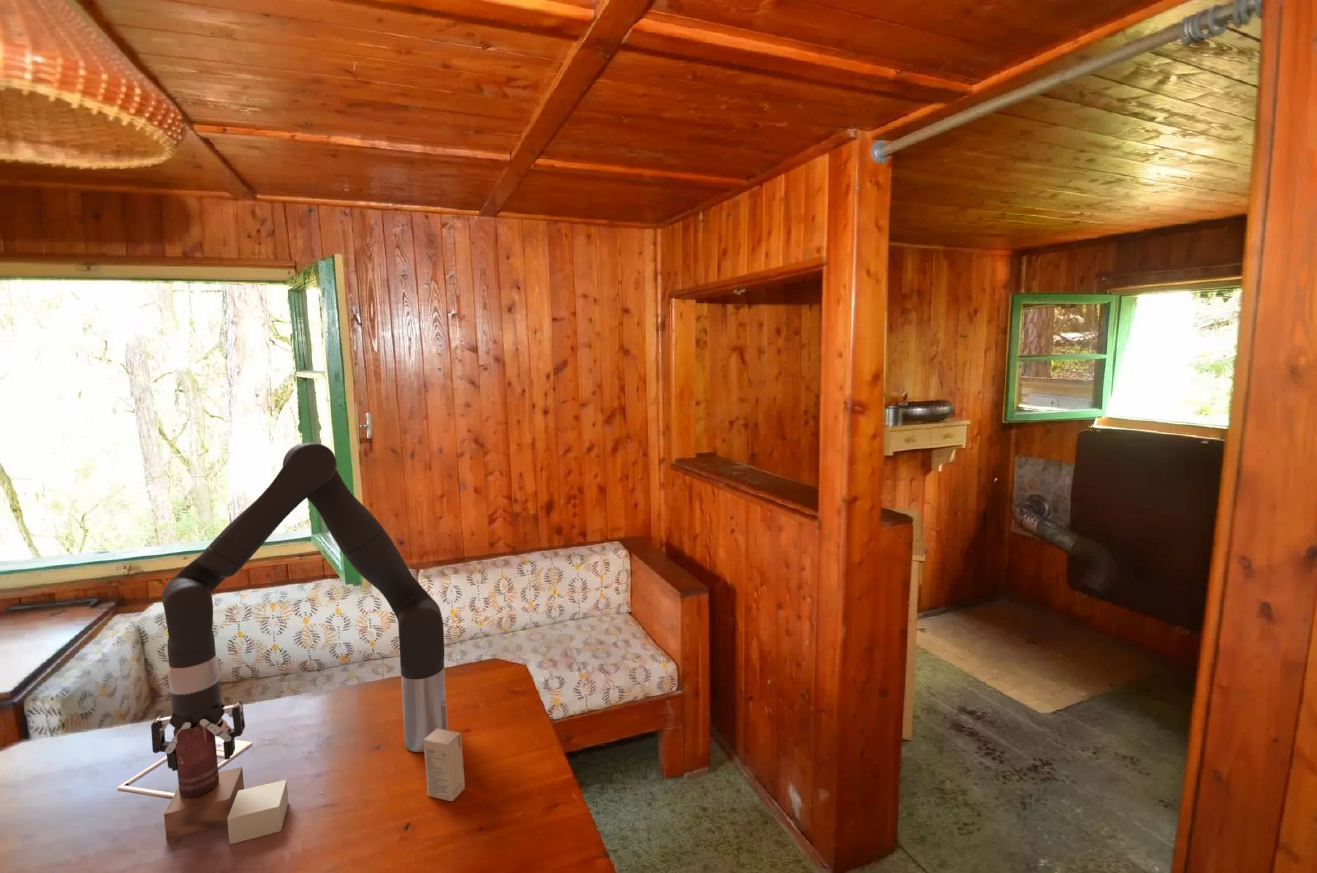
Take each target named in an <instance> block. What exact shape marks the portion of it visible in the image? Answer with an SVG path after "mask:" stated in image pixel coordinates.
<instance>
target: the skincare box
mask: <svg viewBox="0 0 1317 873" xmlns="http://www.w3.org/2000/svg"><path fill="white" fill-rule="evenodd" d="M423 742H424V765H425V777H426V791H427V796H428V797H430V798H431V797H432V798H436V799H439V800H444V801H449V802H453V801H454V800H455V799H456V798H457V797H458V796H459V795H460V794H462V792H463V791H464V790H465V788H466V787H465V786H466V784H465V772H464V771H465V769H464V768H465V767H464V756H463V755H464V754H463V740H462V733H461V732H459V731H454V730H450V729H448V730H445V729H439V728H437V729H436V730H434V731H433V732H432V733H431V734H429V735H428V736H427V737H426V738H424V739H423Z"/></svg>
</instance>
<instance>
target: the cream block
mask: <svg viewBox="0 0 1317 873" xmlns="http://www.w3.org/2000/svg"><path fill="white" fill-rule="evenodd" d="M288 805H289V792H288V782H287V779H283V780H278V781H275V782H270V783H266V784H261V785H258V786H253V787H252V786H251V787H247V788H244V789H243V790H239V791H238V793H237V795H236V798H235V800H234V803H233V806H232V808H231V811H230V813H229V816H228V818H227V821H228V824H227V829H228V841H229V845H233V844H236V843H240V842H245V841H248V840H252V839H256V838H260V837H264V836H268V835H272V834H275V833H279V832H281V831H282V830H283V829H282V828H283V824H284V821H285V816H286V815H287V814H286V813H287V809H288Z"/></svg>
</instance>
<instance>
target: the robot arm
mask: <svg viewBox="0 0 1317 873" xmlns="http://www.w3.org/2000/svg"><path fill="white" fill-rule="evenodd" d="M337 466H338V464H337V457H336V455H335V454H334V452H333V451H332V449H330V448H329V447H327V446H326V445H324V444H322V443H320V442H319V443H318V442H303V443H299V444H296V445H295V446H292V448H290V449H289V450H288V451H287V452H286V453H285V455H284V457H283V462H282V467H281V469H280V471H279V472H278V473H277V475H276V476H275V477H274V479H273V480H272V482H271V483H270V484H269V486H268V487H267V488H266V489H265V490H264V491H263V493H262V494H261V495H259V497H257V499H255V501H253V502H252V503H251V504H250V505H249V506H248V507H246V509H244V510H243V511H242V512H240V514H238V516H237V517H236V518H234V519H233V520H232V521H231V522H230V523H229V524H228V525H227V526H226V527H225V528H224V529H223V530H222V531H221V532H220V533H219V534H218V535H217V536H216V537H215V538H214V540H213V541H212V542H211V543H210V544H209V545H208V546H207V547H206V548H205V549H204V551H203V552H202V553H201V554H200V555H199V556H197V557H196V558H195V559H193V560H192V561H191V562H190V563H189V564H188V565H187V566H185V567H183V569H182V570H180V571H179V572H178V573H177V574H176V575H175V576H174V577H173V578H172V579H171V580H170V581H169V582H168V584H167V585H166V586H165V587H164V589H163V592H162V595H161V602H162V606H163V610H164V614H165V621H166V622H165V623H166V629H167V636H168V638H167V646H166V647H167V658H168V684H167V685H168V688H169V695H170V705H171V706H170V707H171V716H167V717H166V716H163V715H159V716H156V718H155V719H154V720H153V722H152V723H151V725H150V729H151V730H150V731H151V745H152V746H151V747H152V752H153V753H154V754H158V753H164V754H166V756H167V760H166V761H167V768H168V769H171V771H172V772H175V771H177V761H176V751H175V747H176V743H177V734H178V733H179V731H180V730H179V731H178V733H177V734H176V735H175V737H174V736H173V738H172V739H171V740H170V741H167V740H166V733H165V732H166V731H165V730H166V729H167V728H168V726H169V725H171V727H173V728H174V729H175V728H176V729H189V728H192V727H197V726H196V725H197V724H201V725H202V726H203V727H204V728H207V731H208V732H212V733H213V734H214V735H215V737H218V738H222V739H223V740H224V743H223V745H224V757H225V758H224V760H227V759H230V757H231V756H232V755H233V753H234V751H235V740H236V739H235V738H236V737H241V736H242V734H243V733H244V730H245V728H246V722H245V714H244V706H243V705H244V704H243V702H242V701H241V700H240V701H236V702H235V704H231V705H224V703H223V701H222V690H221V688H222V687H221V678H220V677H221V676H220V669H219V668H220V667H219V662H218V658H217V654H216V653H217V652H216V642H215V634H214V631H213V627H214V626H213V625H214V605H213V604H214V602H213V601H214V600H213V595H212V592H214V591H215V589H216V588H217V587H218V586H220V584H221V583H222V582H223V581H224V580H225V579H227V578H230V577H233V576H234V575H235V574H237V573H238V572H239V571H240V570H241V569H242V568H243V567H244V566H245V565H246V563H247V562H248V561H249V560H250V559H251V558H252V557H253V556H254V555H255V553H256V552H257V551H258V550H259V549H260V548H261V547H262V546H263V544H264V543H265V542H266V541H267V540H268V539H269V537H270V536H272V534H273V533H274V531H275V530H276V529H277V528H278V527H279V526H280V524H281V523H283V521H284V520H285V519H286V518H287V517H288V516H289V515H290V514H291V513H292V512H293V511H294V510H295V509H296V508H297V507H298V506H299V505H300V504H301V503H302V502H304V500H306V499H307V500H308V501H309V502H310V503H311V504H312V505H313V507H314V508H315V510H316V512H318V513H319V515H320V518H321V519H322V521H323V522H324V524H325V526H326V528H327V530H328V532H329V534H331V537H332V539H333V540H334V541H335V543H336V545H337V546H338V548H339V550H340V551H341V553H342V554H343V555H344V557H345V558H346V559H347V561H348V562H349V563H350V565H351V566H352V567H353V569H354V570H355V571H356V572H357V573H358V574H359V575H360V576H361V577H362V578H364V580H366V581H367V582H368V583H369V584H370V585H372V586H373V587H375V588H376V589H377V590H378V591H379V592H380V593H381V595H382V596H383V598H384V599H385V600H386V602H387V603H388V605H389V606H390V609H391V610H392V612H393V613H394V615H395V618H396V619H397V624H398V625H397V627H398V638H399V639H398V642H399V644H398V646H399V658H400V659H399V660H400V661H399V662H400V664H399V665H400V677H401V680H400V681H401V698H402V700H401V701H402V715H403V719H402V720H403V734H404V736H403V738H404V747H405V748H406V750H408V751H411V752H414V753H415V752H416V753H423V752H424V742H423V739H424V738H426V737H427V736H428V735H429V734H431V733H432V732H433V731H434V730H436V729H437V728H439V729H445V730H449V728H448V726H449V725H448V711H447V710H448V708H447V704H448V703H447V699H446V698H447V697H446V679H445V678H446V677H445V676H446V675H445V634H444V633H445V632H444V620H443V616H442V612H441V609H440V606H439V604H438V603H437V601H436V600H435V599H433V597H432V596H431V595H430V594H429V593H428V592H427V591H426V589H425V588H424V587H422V585H421V584H420V582H418V580H417V579H416V578H415V577H414V575H413V574H412V572H411V571H410V569H409V568H408V565H407V563H406V562H405V560H404V557H402V554H401V553H400V551H399V550H398V548H397V546H396V545H395V543H394V541H393V540H392V538H391V537H390V535H389V534H388V532H387V531H386V530H385V529H384V527H383V525H382V524H381V523H380V522H379V520H378V519H376V517H375V516H374V515H373V514H372V512H370V510H368V509H367V508H366V506H365V505H363V504H362V503H361V502H360V501H359V499H358V498H356V496H354V495H353V493H352V492H351V491H350V490H349V488H348V486H347V485H346V483H345V482H344V480H343V478H342V477H341V474H340V473H339V471H338V470H337ZM224 714H227V715H228V717H229V718H232V723H233V728H232V727H231V726H230V725H229V724H228V722H227V721H226V720H225V719H224V718H223V716H224Z"/></svg>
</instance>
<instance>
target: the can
mask: <svg viewBox="0 0 1317 873" xmlns="http://www.w3.org/2000/svg"><path fill="white" fill-rule="evenodd" d="M196 726H197V727H192V728H189V729H176V728H174V729H173V737H175V735H176V734H177V733H178V731H179V730H180V731H179V733H178V734H177V743H176V747H175V751H176V761H177V770H176V771H177V782H178V787H179V792H180V795H181V796H182V797H184V798H187V799H191V798H197V797H200V796H203V795H205V794H207V793H209V792H210V791H212V790H213V789H214V788H215V787H216V785H217V784H218V782H219V773H218V772H219V769H218V757H217V752H216V741H215V737H216V736H215V735H214V734H213V733H212V732H208V731H207V728H204V727H203V726H202V725H201V724H197V725H196Z"/></svg>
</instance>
